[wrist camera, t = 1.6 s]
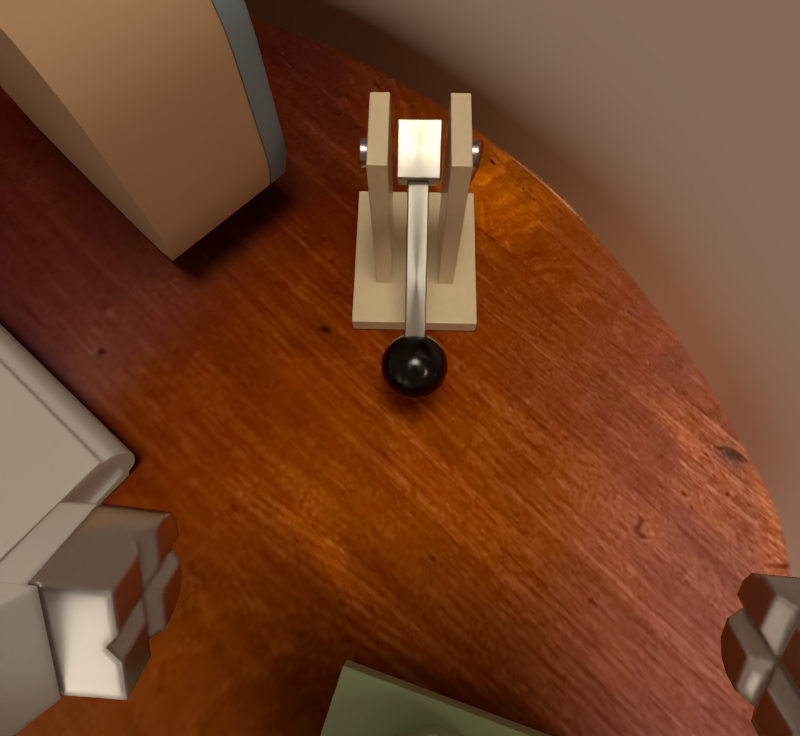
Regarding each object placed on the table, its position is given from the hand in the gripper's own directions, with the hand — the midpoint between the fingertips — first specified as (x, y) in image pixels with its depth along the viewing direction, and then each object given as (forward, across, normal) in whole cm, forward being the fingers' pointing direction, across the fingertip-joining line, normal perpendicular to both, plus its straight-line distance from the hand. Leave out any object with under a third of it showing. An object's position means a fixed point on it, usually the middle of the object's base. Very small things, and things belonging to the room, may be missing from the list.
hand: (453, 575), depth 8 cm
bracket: (+33, +1, +3) cm, 33 cm away
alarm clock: (+38, +20, -1) cm, 43 cm away
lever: (+25, +1, +2) cm, 25 cm away
